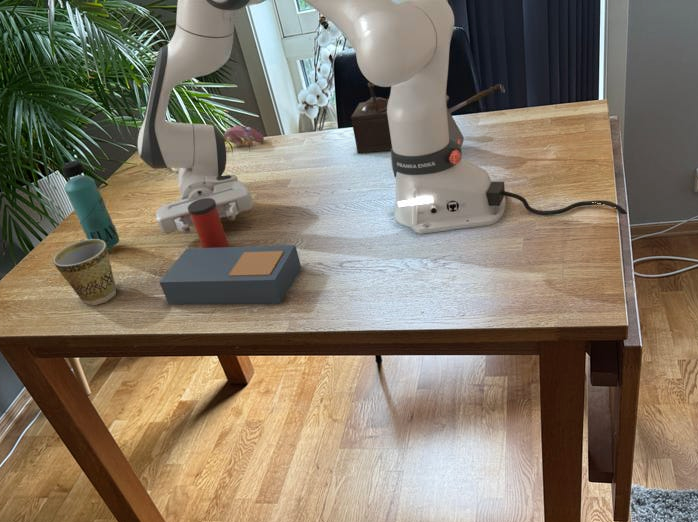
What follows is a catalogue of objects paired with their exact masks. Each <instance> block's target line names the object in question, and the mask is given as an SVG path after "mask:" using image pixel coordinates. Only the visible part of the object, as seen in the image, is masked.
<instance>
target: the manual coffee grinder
mask: <svg viewBox="0 0 698 522" xmlns="http://www.w3.org/2000/svg"><path fill="white" fill-rule="evenodd" d="M366 81H367V87H368V88H369V93H370V98H369V99H367V100H366V101H365V102H364V101H363V102H359V103H358V105H357V106H356V108H355V110H354V112H353V113H352V114H351V116H350V121H351V124H352V130H353V135H354V141H355V145H356V146H355V147H356V153H357V154H374V153H375V154H376V153H385V152H391V149H392V143H391V136H390V129H389V123H388V116H387V104H388V101H389V98H388V97H389V96H387V97H386V98H383V97H381V96H379V97H376V95H375V90H374V87H377V85H375V84H373V83H371V82H370V81H369V80H368V79H367V78H366Z"/></svg>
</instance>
